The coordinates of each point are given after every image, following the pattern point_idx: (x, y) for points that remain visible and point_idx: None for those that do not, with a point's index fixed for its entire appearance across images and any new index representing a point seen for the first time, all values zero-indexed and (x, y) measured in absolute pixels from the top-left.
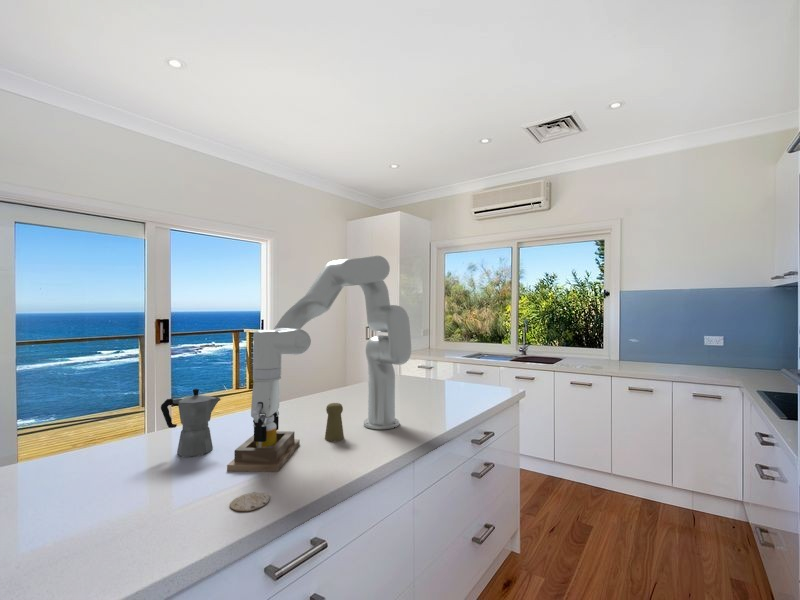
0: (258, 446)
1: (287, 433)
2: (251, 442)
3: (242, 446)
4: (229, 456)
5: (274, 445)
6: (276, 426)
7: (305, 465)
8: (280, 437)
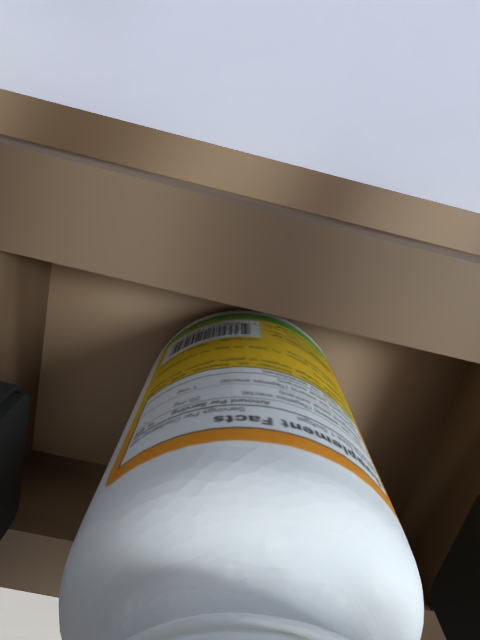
0: (159, 365)
1: (428, 625)
2: (196, 296)
3: (42, 201)
4: (338, 11)
5: (54, 540)
6: (453, 637)
7: (33, 608)
8: (438, 532)
